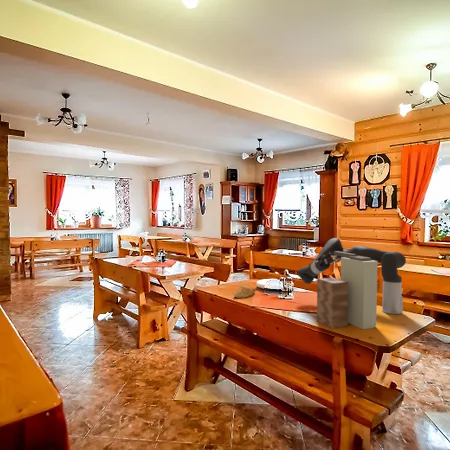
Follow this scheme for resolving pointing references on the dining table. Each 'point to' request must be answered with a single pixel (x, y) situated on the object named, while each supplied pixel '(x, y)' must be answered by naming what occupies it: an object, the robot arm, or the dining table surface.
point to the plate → (262, 283)
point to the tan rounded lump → (244, 291)
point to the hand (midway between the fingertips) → (336, 254)
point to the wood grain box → (332, 302)
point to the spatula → (351, 256)
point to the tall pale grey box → (361, 291)
